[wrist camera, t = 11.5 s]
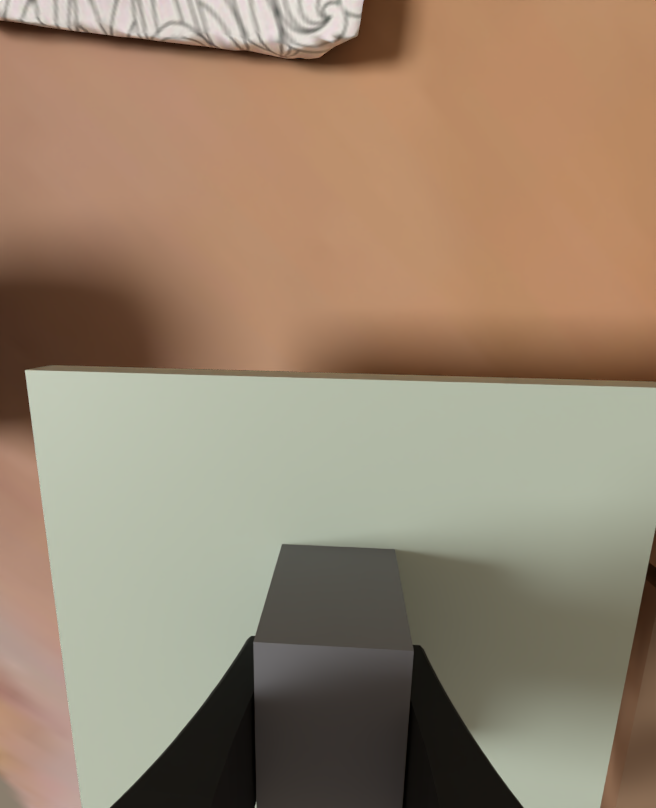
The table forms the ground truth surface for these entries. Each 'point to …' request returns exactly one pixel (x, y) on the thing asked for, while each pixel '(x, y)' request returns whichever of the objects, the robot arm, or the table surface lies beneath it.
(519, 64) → the table surface
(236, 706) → the robot arm
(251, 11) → the cookie jar
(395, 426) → the lid
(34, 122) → the table surface
